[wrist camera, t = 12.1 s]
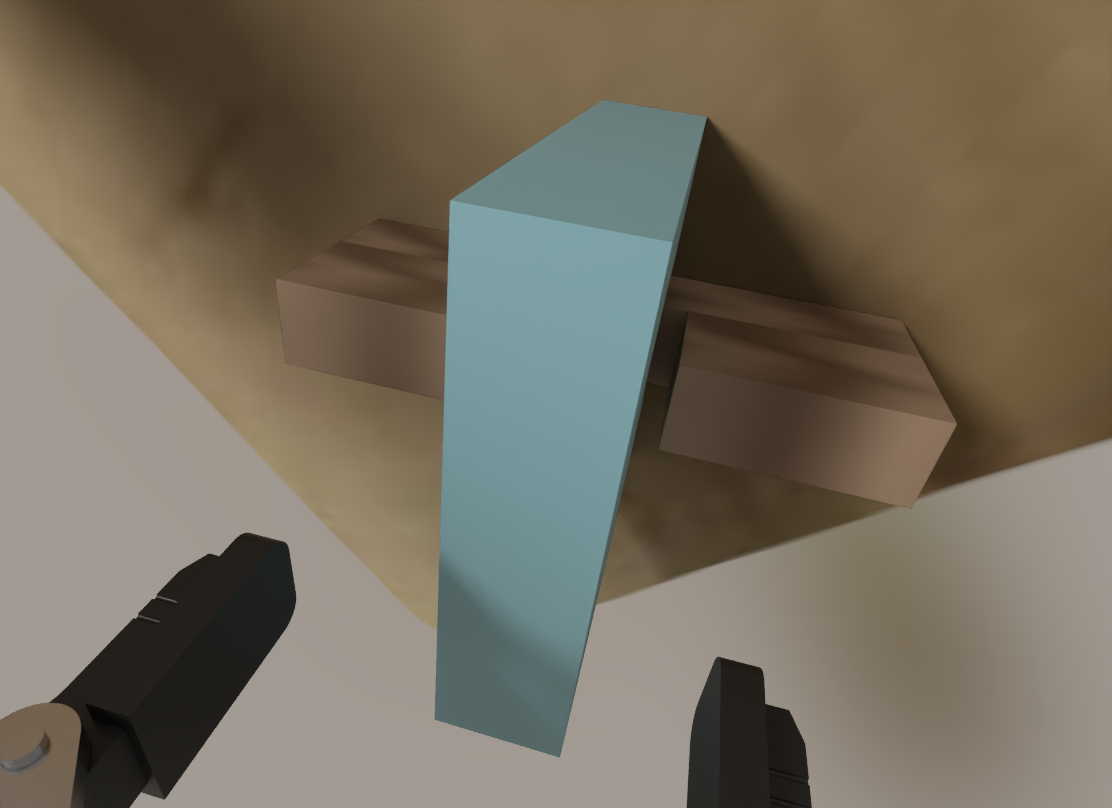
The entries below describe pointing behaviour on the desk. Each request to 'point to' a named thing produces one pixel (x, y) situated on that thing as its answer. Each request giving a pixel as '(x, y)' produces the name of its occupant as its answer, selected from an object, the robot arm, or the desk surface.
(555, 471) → the teal notched plate
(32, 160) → the desk surface
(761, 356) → the walnut slotted board
